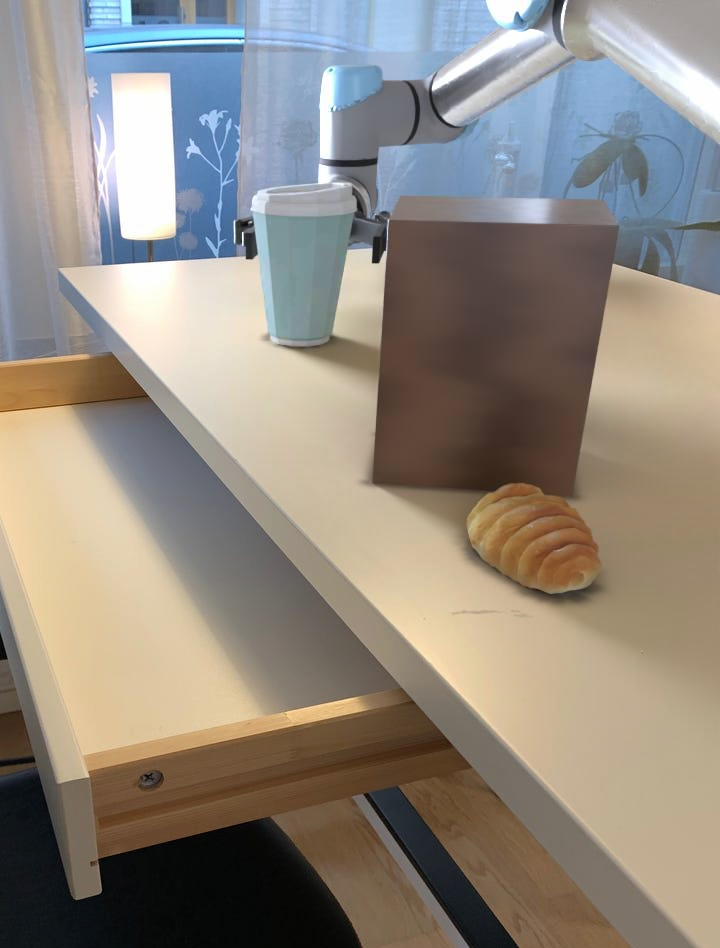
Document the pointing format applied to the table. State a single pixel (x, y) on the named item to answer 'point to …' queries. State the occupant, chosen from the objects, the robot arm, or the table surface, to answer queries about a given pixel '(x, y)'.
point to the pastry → (534, 539)
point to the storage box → (490, 340)
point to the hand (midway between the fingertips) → (311, 248)
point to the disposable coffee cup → (302, 257)
